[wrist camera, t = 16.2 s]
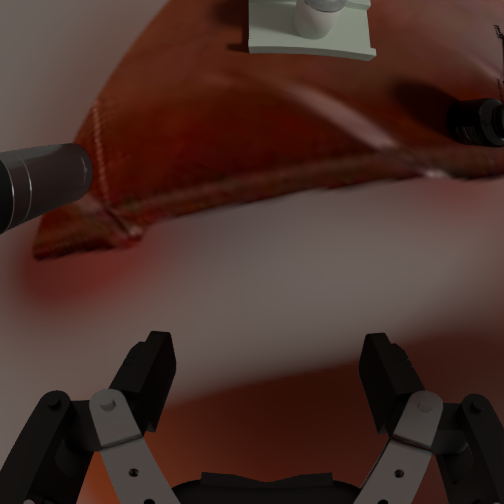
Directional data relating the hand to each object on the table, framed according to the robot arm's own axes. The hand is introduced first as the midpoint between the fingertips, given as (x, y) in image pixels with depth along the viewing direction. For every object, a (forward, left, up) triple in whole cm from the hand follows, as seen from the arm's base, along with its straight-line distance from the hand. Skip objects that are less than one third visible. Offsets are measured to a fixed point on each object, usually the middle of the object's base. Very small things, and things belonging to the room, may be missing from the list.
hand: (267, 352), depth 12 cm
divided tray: (+6, +29, -30) cm, 42 cm away
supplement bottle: (+30, +14, -30) cm, 45 cm away
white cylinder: (+6, +25, -29) cm, 39 cm away
